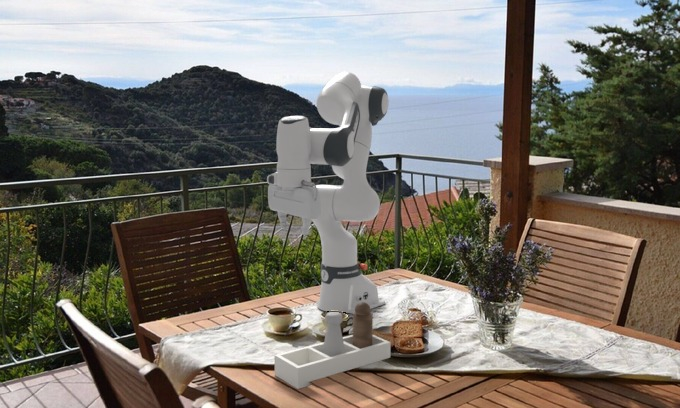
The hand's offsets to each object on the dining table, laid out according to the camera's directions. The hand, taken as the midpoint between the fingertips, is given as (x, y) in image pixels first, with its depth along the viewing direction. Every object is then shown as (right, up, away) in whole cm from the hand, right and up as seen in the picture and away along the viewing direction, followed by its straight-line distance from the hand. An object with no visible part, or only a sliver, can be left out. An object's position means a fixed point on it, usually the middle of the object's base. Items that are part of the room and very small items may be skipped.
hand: (294, 231), depth 176 cm
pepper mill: (+18, -31, -6) cm, 36 cm away
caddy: (+11, -33, -11) cm, 36 cm away
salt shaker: (+11, -32, -11) cm, 36 cm away
